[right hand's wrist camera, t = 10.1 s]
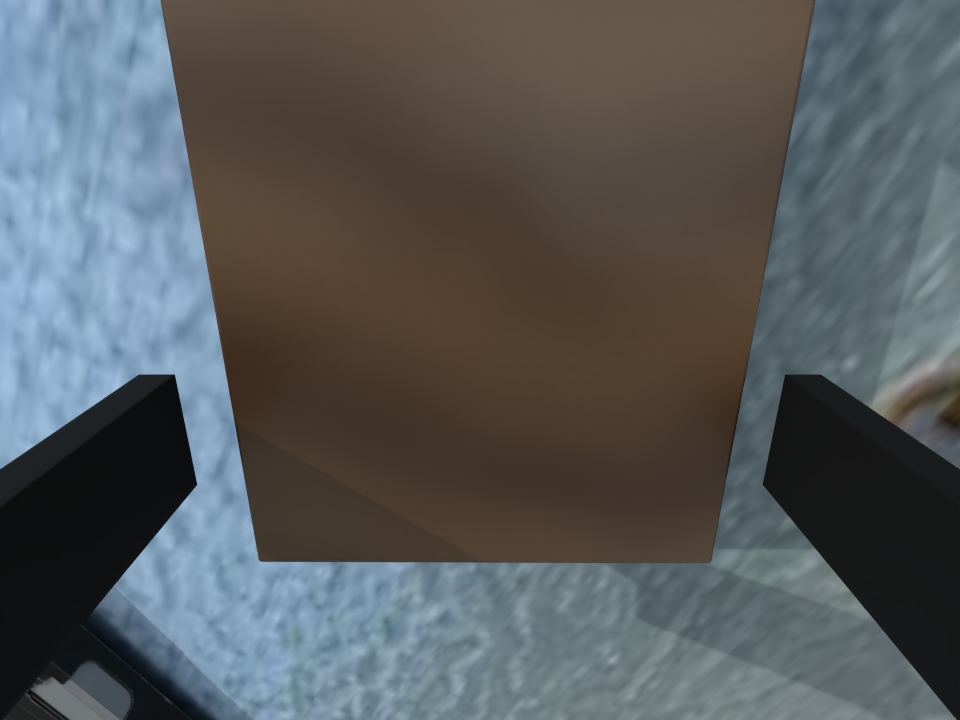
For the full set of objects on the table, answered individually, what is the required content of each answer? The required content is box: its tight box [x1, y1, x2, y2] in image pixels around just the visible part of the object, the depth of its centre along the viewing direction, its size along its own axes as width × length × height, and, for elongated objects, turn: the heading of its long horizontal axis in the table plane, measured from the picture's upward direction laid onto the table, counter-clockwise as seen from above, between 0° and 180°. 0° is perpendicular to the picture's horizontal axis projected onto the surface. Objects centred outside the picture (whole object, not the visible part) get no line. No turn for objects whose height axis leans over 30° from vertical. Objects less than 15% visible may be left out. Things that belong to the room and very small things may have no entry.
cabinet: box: [161, 0, 815, 563], centre depth 14 cm, size 18×11×8 cm, turn 0°
